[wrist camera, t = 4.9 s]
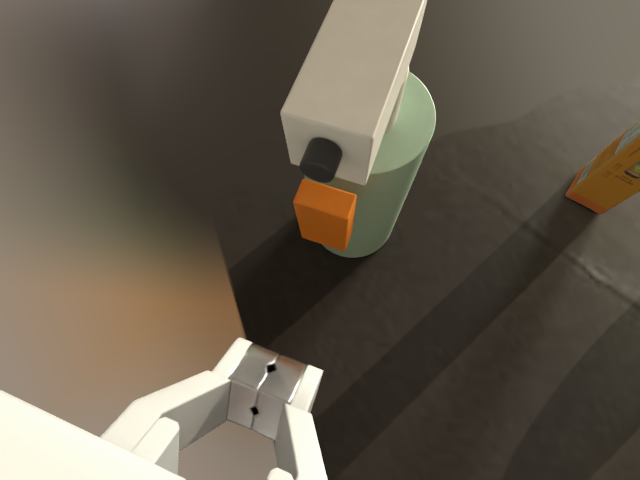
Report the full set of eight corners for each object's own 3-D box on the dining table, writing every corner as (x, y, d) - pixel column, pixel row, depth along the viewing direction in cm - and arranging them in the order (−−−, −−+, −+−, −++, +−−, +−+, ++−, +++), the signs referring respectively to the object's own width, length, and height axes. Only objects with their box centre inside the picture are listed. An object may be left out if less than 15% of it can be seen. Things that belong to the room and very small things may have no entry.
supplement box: (615, 186, 31) (736, 110, 22) (598, 216, 31) (717, 150, 21) (578, 167, 32) (679, 85, 23) (561, 195, 31) (659, 123, 22)
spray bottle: (368, 303, 29) (431, 188, 10) (286, 275, 30) (206, 121, 11) (402, 196, 32) (502, -50, 13) (327, 173, 33) (318, -85, 14)
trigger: (345, 252, 19) (348, 219, 14) (301, 237, 19) (292, 202, 15) (352, 231, 19) (357, 194, 15) (309, 217, 19) (302, 177, 15)
